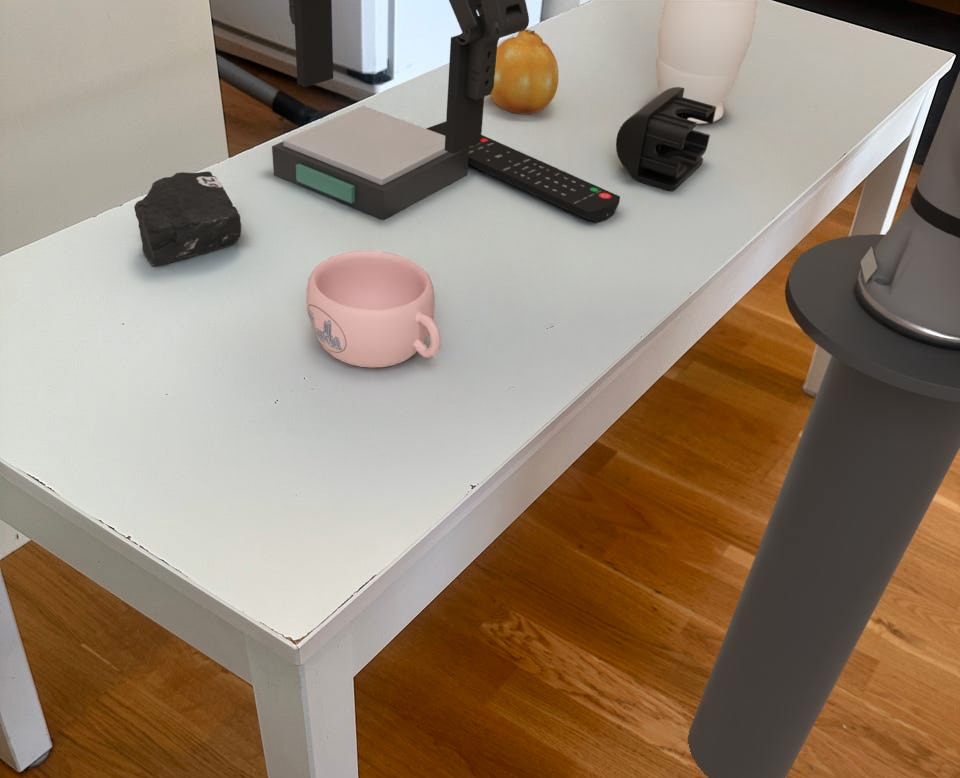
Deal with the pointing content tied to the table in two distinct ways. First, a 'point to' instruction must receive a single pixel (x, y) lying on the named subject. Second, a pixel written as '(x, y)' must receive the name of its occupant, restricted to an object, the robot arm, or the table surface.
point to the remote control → (540, 178)
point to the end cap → (664, 140)
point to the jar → (703, 47)
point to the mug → (372, 308)
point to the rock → (186, 218)
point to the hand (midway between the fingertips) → (386, 113)
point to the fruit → (524, 74)
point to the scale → (369, 161)
